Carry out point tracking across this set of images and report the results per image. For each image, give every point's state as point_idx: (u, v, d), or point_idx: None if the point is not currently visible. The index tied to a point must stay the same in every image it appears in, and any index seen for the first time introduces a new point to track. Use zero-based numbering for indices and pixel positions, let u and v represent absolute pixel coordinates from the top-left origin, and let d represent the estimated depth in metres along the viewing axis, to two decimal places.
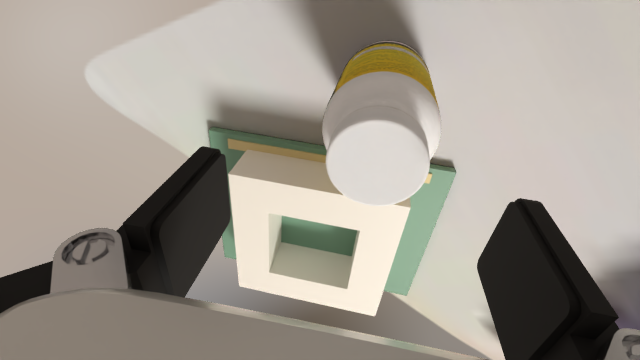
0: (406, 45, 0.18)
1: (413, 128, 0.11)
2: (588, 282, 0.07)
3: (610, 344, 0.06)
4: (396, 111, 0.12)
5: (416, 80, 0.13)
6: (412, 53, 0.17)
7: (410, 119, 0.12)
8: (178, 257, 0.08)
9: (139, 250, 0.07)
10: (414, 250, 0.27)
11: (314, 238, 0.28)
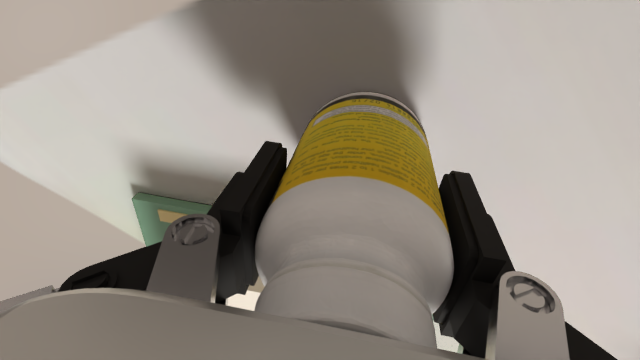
0: (393, 99, 0.12)
1: (407, 330, 0.05)
2: (489, 235, 0.08)
3: (499, 291, 0.07)
4: (372, 283, 0.06)
5: (410, 192, 0.08)
6: (402, 115, 0.11)
7: (400, 298, 0.06)
8: None
9: (230, 234, 0.08)
10: None
11: None
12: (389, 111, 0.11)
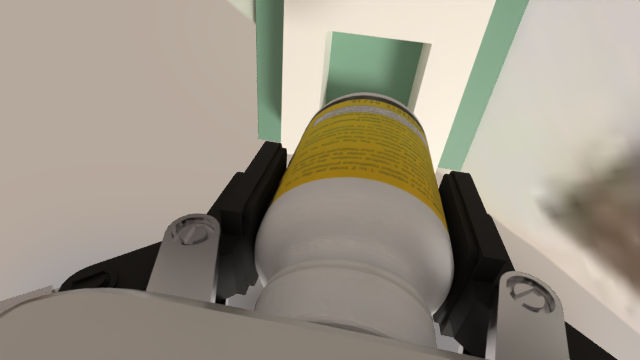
0: (393, 100, 0.12)
1: (407, 332, 0.05)
2: (489, 235, 0.08)
3: (499, 291, 0.07)
4: (372, 284, 0.06)
5: (410, 193, 0.08)
6: (402, 116, 0.11)
7: (400, 300, 0.06)
8: None
9: (230, 234, 0.08)
10: (476, 103, 0.24)
11: None
12: (389, 111, 0.11)
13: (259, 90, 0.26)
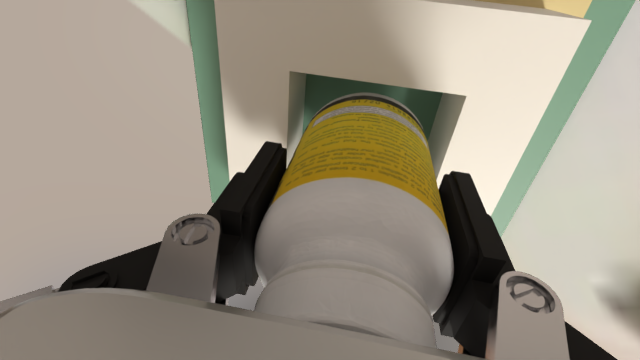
0: (393, 100, 0.12)
1: (407, 333, 0.05)
2: (489, 235, 0.08)
3: (499, 291, 0.07)
4: (372, 284, 0.06)
5: (410, 193, 0.08)
6: (402, 116, 0.11)
7: (400, 300, 0.06)
8: None
9: (230, 234, 0.08)
10: (522, 169, 0.16)
11: None
12: (389, 112, 0.11)
13: (207, 142, 0.19)
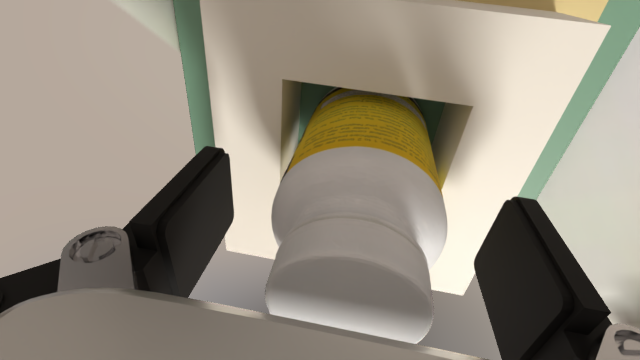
0: None
1: (405, 266, 0.07)
2: (581, 278, 0.07)
3: (602, 339, 0.06)
4: (376, 230, 0.07)
5: (408, 159, 0.09)
6: (402, 98, 0.12)
7: (400, 243, 0.07)
8: (183, 255, 0.08)
9: (145, 248, 0.07)
10: (529, 180, 0.15)
11: None
12: (390, 94, 0.12)
13: (198, 150, 0.18)
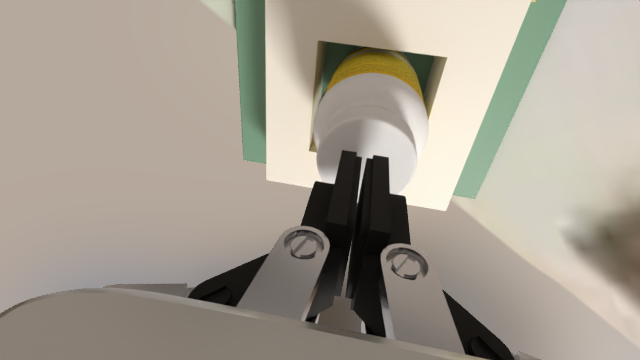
0: None
1: (400, 127, 0.12)
2: (384, 211, 0.08)
3: (382, 272, 0.07)
4: (384, 110, 0.12)
5: (403, 81, 0.14)
6: (400, 56, 0.18)
7: (398, 118, 0.12)
8: None
9: (331, 246, 0.08)
10: (496, 124, 0.21)
11: None
12: (392, 52, 0.17)
13: (242, 106, 0.23)
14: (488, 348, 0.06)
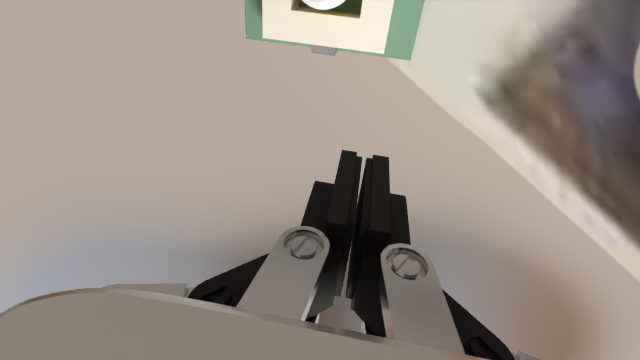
0: None
1: None
2: (384, 211, 0.08)
3: (382, 272, 0.07)
4: None
5: None
6: None
7: None
8: None
9: (331, 246, 0.08)
10: None
11: None
12: None
13: None
14: (488, 348, 0.06)
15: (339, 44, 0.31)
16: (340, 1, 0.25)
